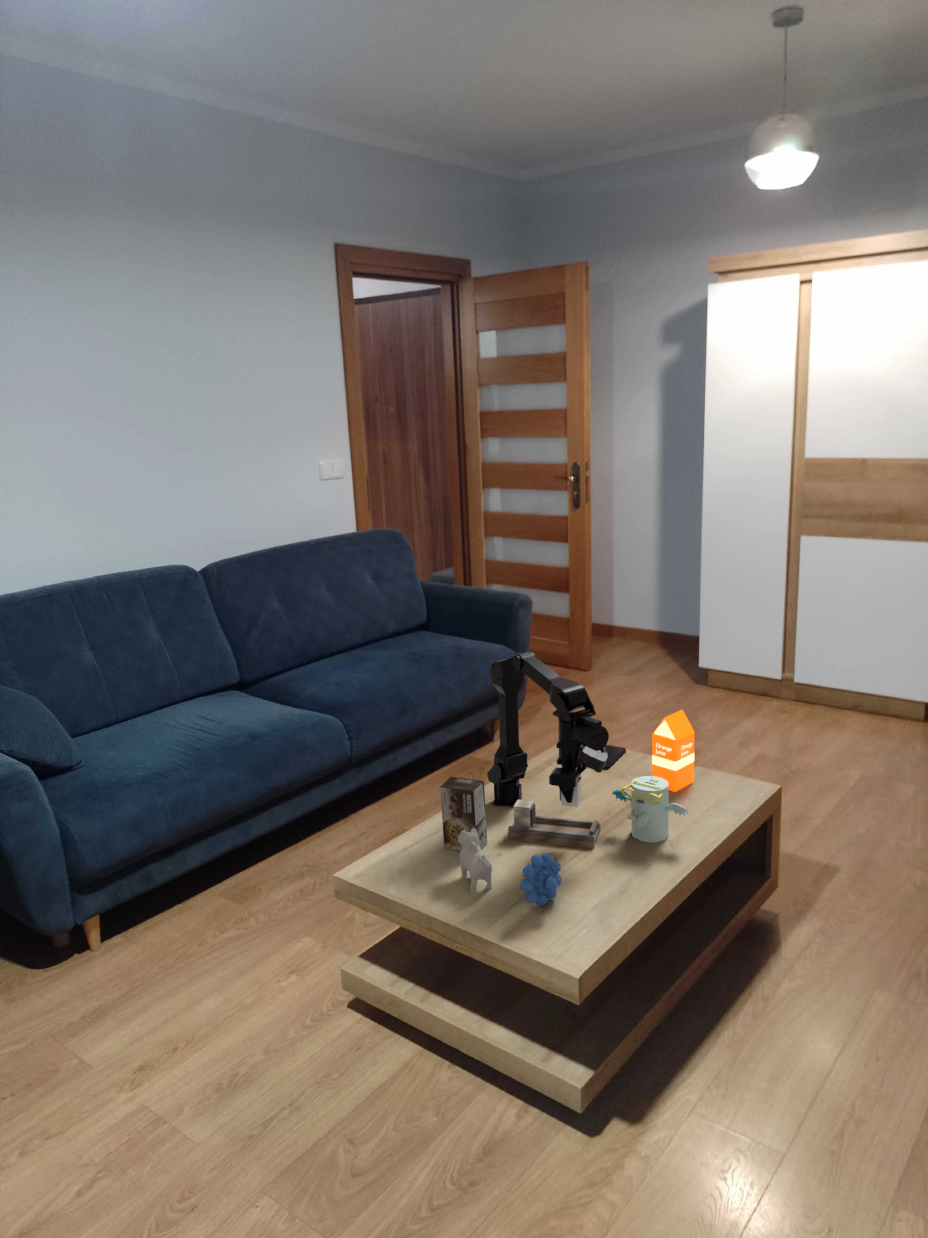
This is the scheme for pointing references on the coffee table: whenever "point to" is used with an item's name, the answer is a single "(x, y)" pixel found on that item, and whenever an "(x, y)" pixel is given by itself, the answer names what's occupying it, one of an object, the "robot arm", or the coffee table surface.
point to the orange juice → (674, 751)
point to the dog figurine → (474, 859)
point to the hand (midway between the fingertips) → (571, 798)
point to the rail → (551, 828)
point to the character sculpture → (649, 807)
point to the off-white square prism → (576, 796)
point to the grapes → (541, 879)
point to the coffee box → (463, 810)
